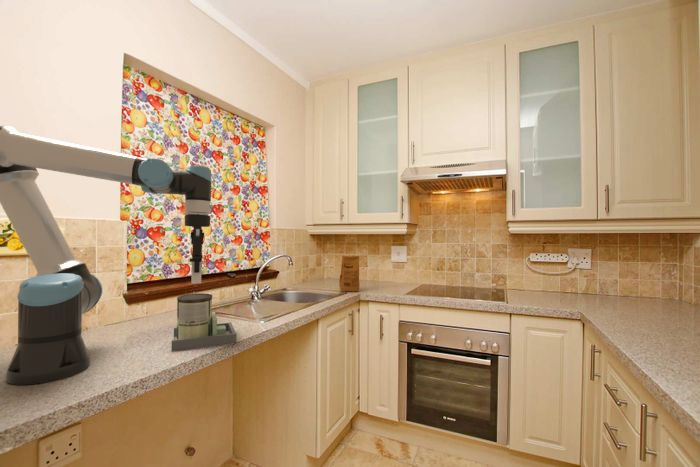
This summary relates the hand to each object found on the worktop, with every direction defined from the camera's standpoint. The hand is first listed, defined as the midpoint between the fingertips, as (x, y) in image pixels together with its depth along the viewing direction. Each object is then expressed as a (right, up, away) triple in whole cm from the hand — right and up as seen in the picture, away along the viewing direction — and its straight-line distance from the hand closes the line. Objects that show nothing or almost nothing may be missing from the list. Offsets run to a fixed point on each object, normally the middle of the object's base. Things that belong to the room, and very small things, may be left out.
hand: (196, 280), depth 106 cm
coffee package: (+49, -21, +100) cm, 113 cm away
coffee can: (0, -19, 0) cm, 19 cm away
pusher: (+6, -19, +3) cm, 20 cm away
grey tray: (+2, -19, +1) cm, 20 cm away
